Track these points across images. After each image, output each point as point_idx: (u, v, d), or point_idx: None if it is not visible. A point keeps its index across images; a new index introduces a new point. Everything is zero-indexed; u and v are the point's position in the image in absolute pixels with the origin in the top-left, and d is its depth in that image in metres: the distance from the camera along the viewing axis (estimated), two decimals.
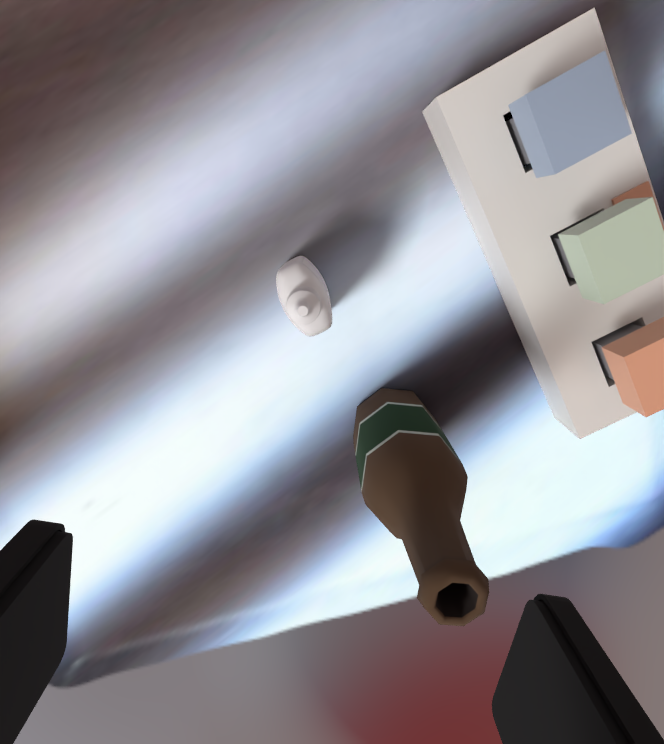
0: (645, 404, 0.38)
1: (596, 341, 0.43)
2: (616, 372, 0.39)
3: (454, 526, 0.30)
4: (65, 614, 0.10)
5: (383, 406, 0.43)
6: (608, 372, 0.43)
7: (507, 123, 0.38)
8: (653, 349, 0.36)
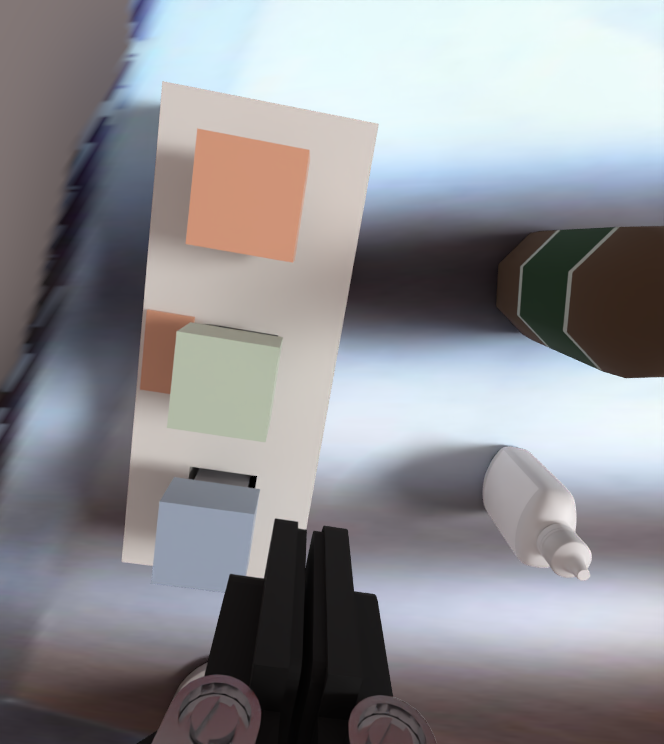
0: (299, 171, 0.24)
1: None
2: (299, 224, 0.26)
3: None
4: None
5: None
6: None
7: None
8: (251, 245, 0.25)
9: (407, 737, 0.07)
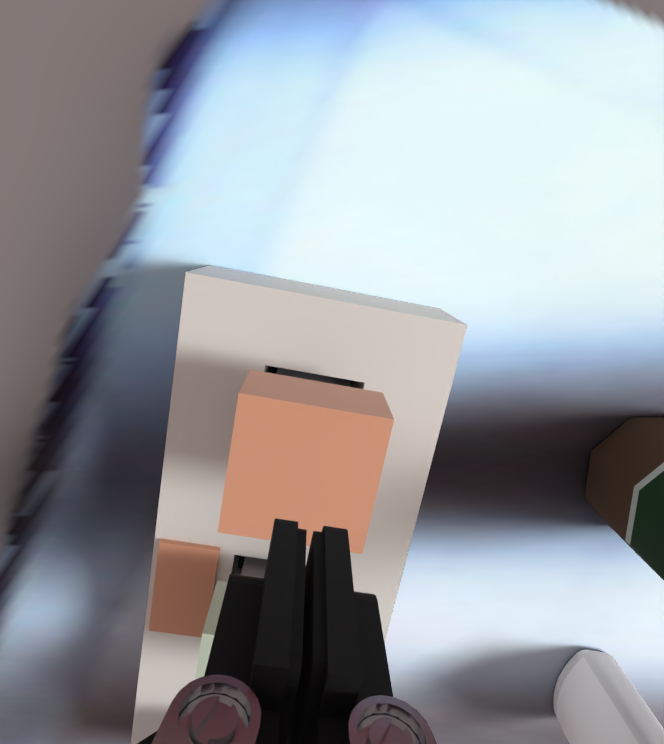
0: (379, 445, 0.17)
1: None
2: None
3: None
4: None
5: None
6: None
7: None
8: (308, 533, 0.18)
9: (407, 736, 0.07)
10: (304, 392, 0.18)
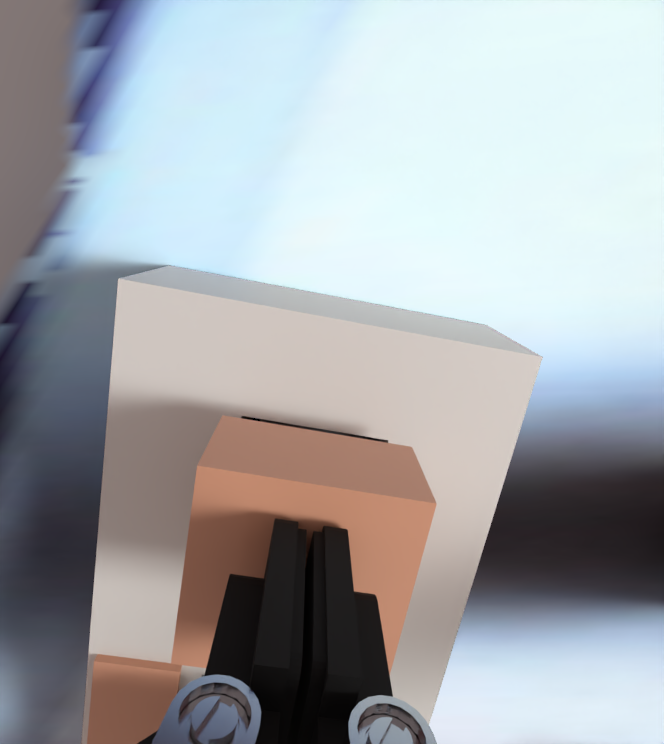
0: (413, 541, 0.11)
1: None
2: None
3: None
4: None
5: None
6: None
7: None
8: None
9: (407, 736, 0.07)
10: (299, 456, 0.12)
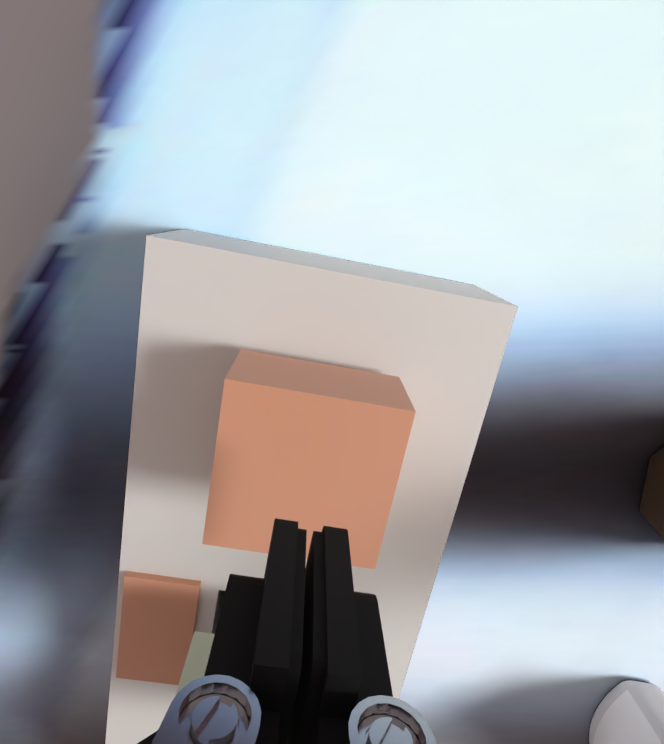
0: (396, 443, 0.14)
1: None
2: None
3: None
4: None
5: None
6: None
7: None
8: None
9: (406, 736, 0.07)
10: (305, 377, 0.15)
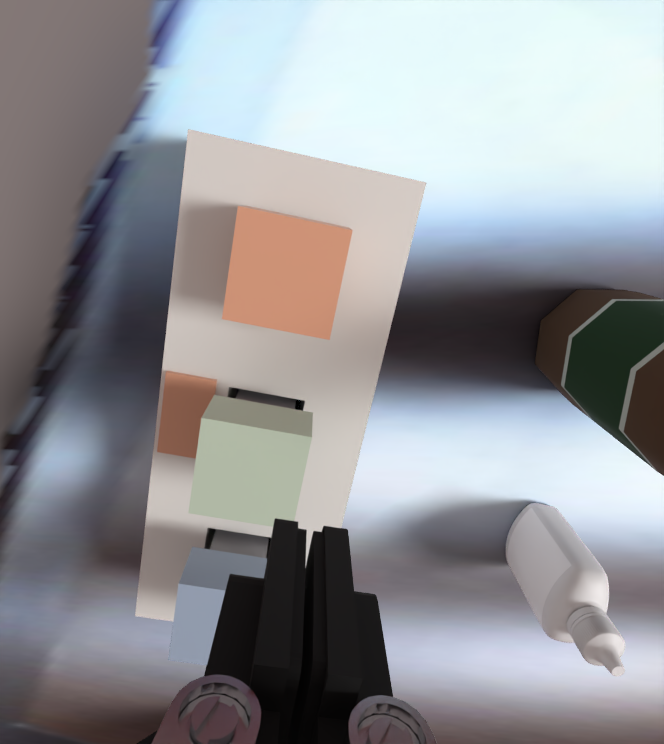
0: (341, 251, 0.23)
1: None
2: None
3: None
4: None
5: None
6: None
7: None
8: (289, 321, 0.24)
9: (407, 736, 0.07)
10: (287, 215, 0.24)
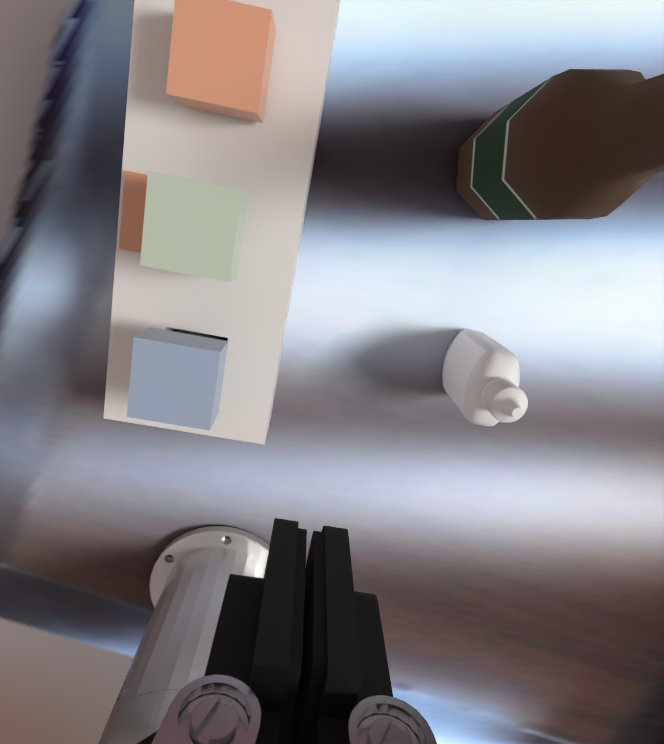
0: (263, 29, 0.28)
1: None
2: (266, 85, 0.31)
3: (634, 137, 0.20)
4: None
5: None
6: None
7: None
8: (222, 96, 0.29)
9: (407, 736, 0.07)
10: None
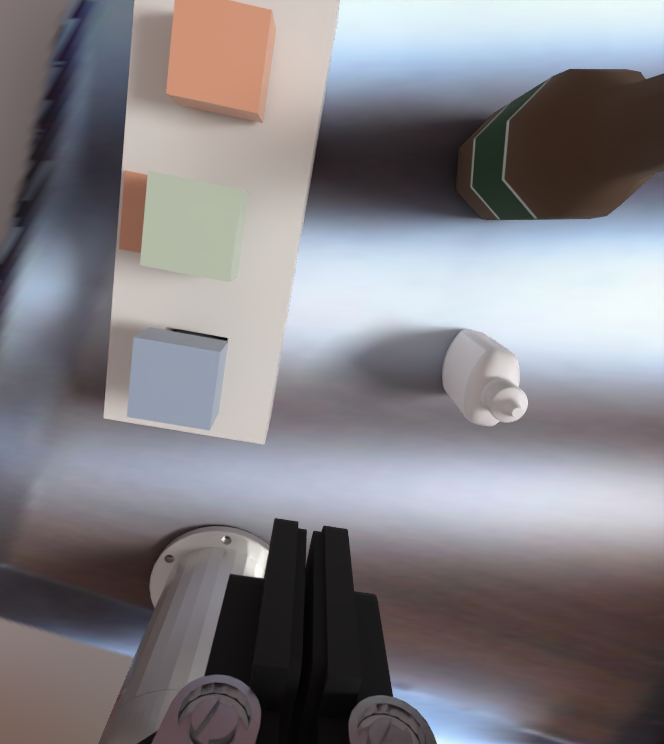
0: (263, 29, 0.28)
1: None
2: (266, 85, 0.31)
3: (634, 136, 0.20)
4: None
5: None
6: None
7: None
8: (222, 96, 0.29)
9: (407, 736, 0.07)
10: None
